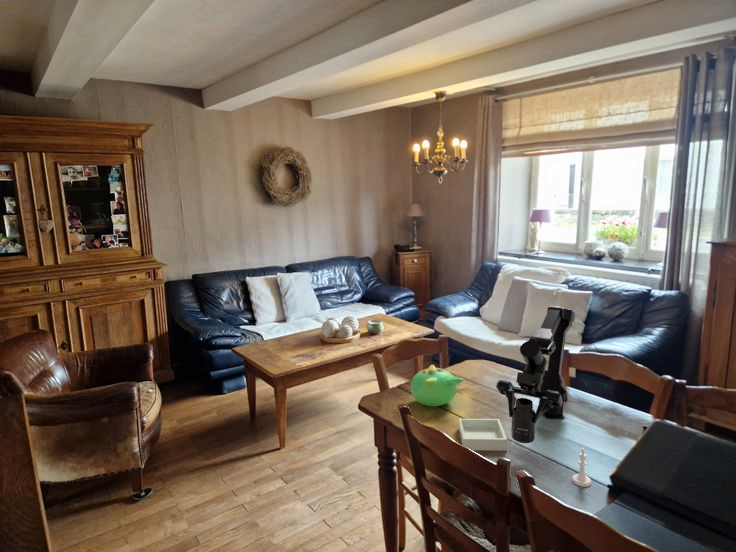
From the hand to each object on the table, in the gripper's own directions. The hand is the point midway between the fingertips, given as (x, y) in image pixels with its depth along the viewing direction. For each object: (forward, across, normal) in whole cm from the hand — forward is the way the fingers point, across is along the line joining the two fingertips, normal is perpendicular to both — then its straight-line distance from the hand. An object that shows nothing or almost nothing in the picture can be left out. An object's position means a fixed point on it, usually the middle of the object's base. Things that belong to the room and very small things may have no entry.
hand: (522, 419), depth 138 cm
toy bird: (-5, -40, +24) cm, 47 cm away
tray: (+6, -15, +13) cm, 20 cm away
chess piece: (+10, +17, +9) cm, 22 cm away
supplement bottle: (+4, 0, +6) cm, 7 cm away
